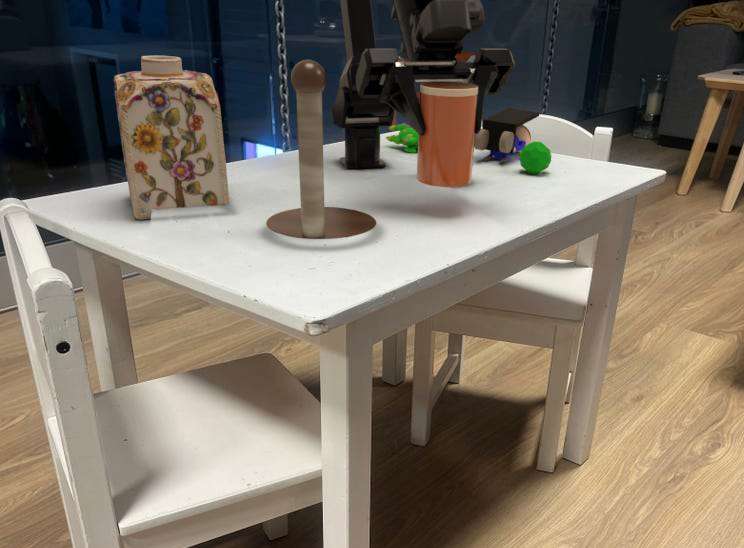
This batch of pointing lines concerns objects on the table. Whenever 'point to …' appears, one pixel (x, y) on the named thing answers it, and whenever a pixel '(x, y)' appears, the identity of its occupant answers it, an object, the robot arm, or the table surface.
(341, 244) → the table surface
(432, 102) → the tumbler
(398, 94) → the robot arm
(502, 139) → the figurine character
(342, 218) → the towel holder
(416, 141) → the crocodile figurine
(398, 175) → the table surface
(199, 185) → the decorative jar
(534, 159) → the polyhedron
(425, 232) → the table surface
